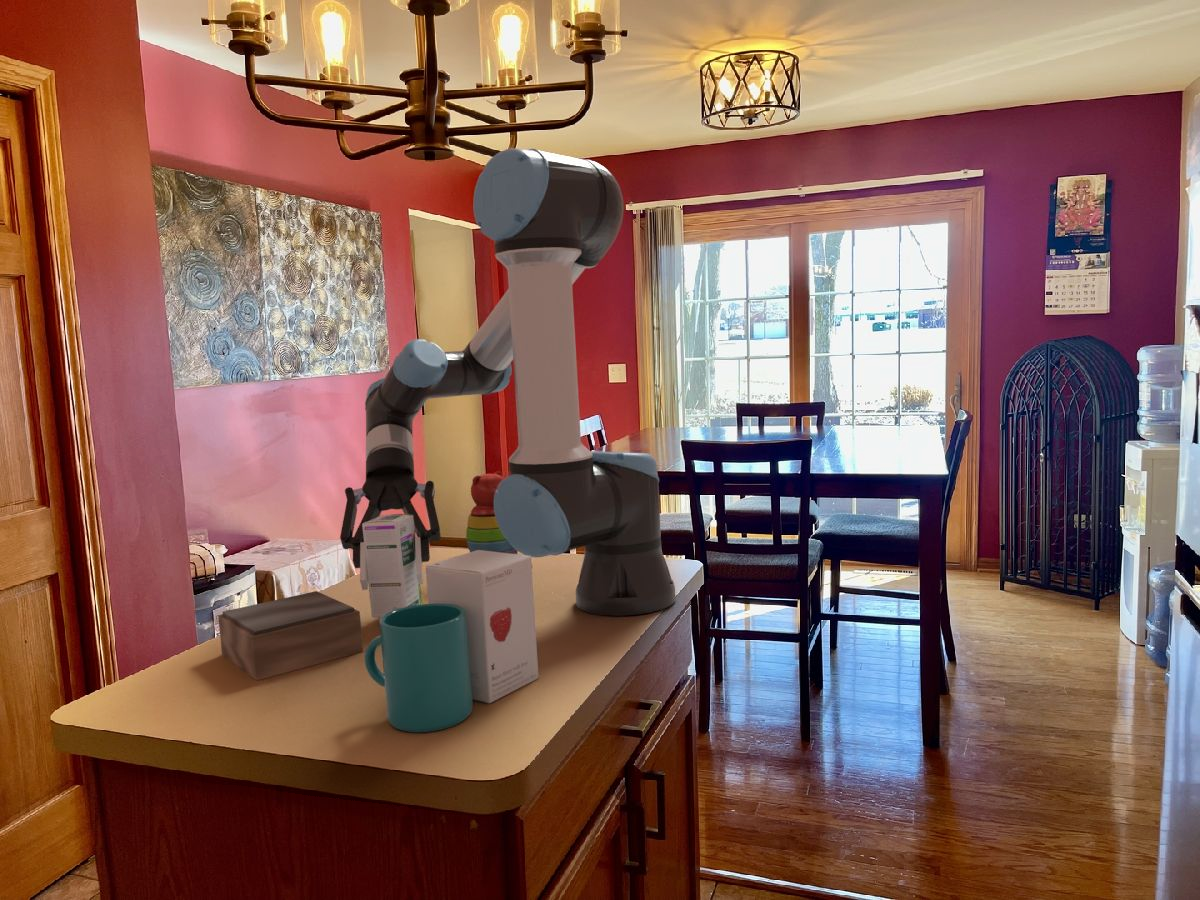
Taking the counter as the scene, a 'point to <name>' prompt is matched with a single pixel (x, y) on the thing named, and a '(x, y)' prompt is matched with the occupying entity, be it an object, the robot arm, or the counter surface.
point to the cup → (423, 666)
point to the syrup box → (391, 563)
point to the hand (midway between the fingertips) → (392, 581)
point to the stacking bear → (486, 517)
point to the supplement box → (492, 617)
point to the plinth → (289, 634)
